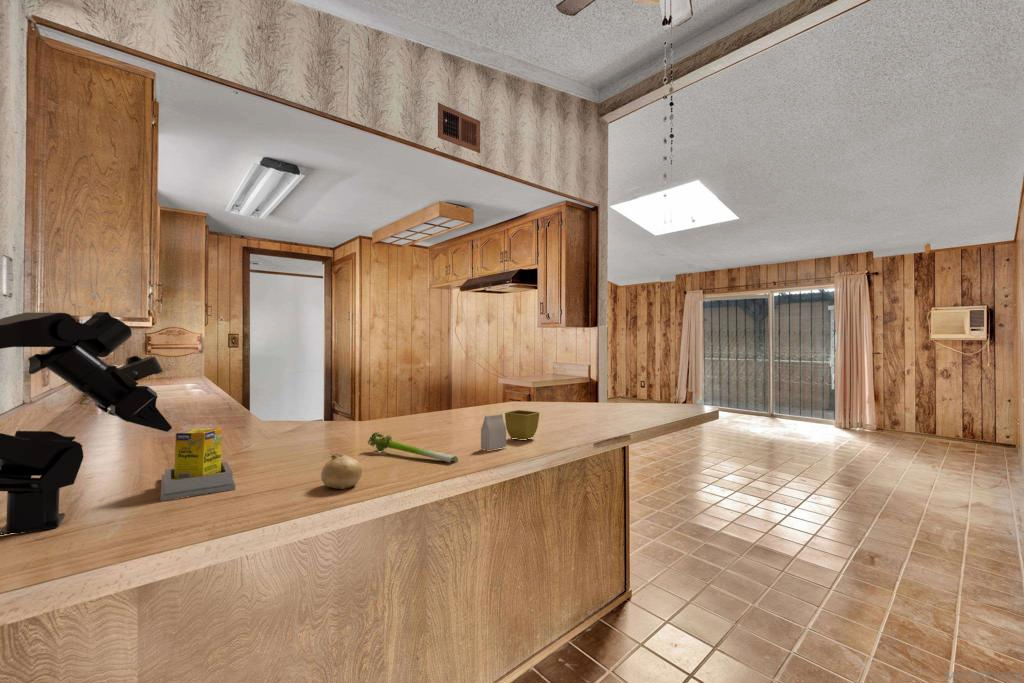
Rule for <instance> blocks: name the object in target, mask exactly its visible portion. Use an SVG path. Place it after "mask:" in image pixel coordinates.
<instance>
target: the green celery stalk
mask: <svg viewBox="0 0 1024 683" xmlns="http://www.w3.org/2000/svg"><path fill="white" fill-rule="evenodd" d="M367 445H369V446H371V447H372V448H374V447H375V448H376V449H377V451H384V450H385V449H386V450H387V448H390V449H394V450H399V451H401V452H402V451H403V452H408V453H411V454H414V455H419V456H423V457H426V458H427V457H428V458H431V459H436V460H439V461H444V462H447V463H452V462H451V461H455V462H454V463H459V457H458V456H457V455H452V454H448V453H444V452H438V451H433V450H429V449H425V448H421V447H416V446H412V445H409V444H404V443H402V442H399V441H398V442H397V441H394V440H393V437H392V435H391V436H390V434H387V435H386V436H385V435H384V434H382V433H379V432H377V431H375V432H373V433H372V434H371V436H370V437H369V438H368V440H367Z"/></svg>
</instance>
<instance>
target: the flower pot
mask: <svg viewBox="0 0 1024 683" xmlns="http://www.w3.org/2000/svg"><path fill="white" fill-rule="evenodd" d="M540 413H541V412H539V411H532V410H521V409H516V410H511V411H506V412H504V420H505V421H504V422H505V427H506V432H507V433H508V436H509V437H510V438H517V439H528V438H531V437H534V436H535V434H536V432H537V430H538V426H539V420H540Z"/></svg>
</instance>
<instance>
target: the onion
mask: <svg viewBox="0 0 1024 683" xmlns="http://www.w3.org/2000/svg"><path fill="white" fill-rule="evenodd" d="M330 455H331V456H330V458H331V459H330V460H328V461H327V462H326V463H325V465H324V466H323V467H322V471H321V473H320V476H321V481H322V483H323V484H324V486H326V487H327V488H333V489H336V490H347V489H350V488H352V487H353V486H355V485H356V484H357V483H358V482H359V481H360V480H361V477H362V474H363V471H362V470H363V469H362V467H361V464H360V463H359V461H357V460H356V459H355V458H354V457H351V456H348V455H345V454H344V453H343V452H341V453H334V454H333V453H330Z"/></svg>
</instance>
